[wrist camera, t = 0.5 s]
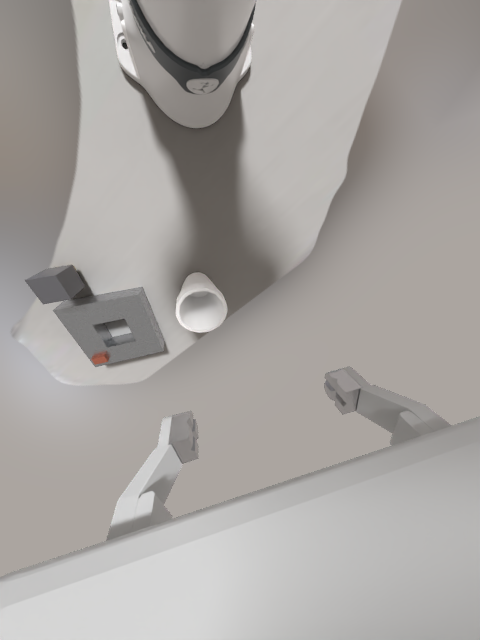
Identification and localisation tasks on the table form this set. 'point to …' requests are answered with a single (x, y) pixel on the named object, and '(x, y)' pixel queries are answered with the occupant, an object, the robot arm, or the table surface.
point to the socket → (94, 311)
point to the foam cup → (200, 304)
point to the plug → (56, 284)
